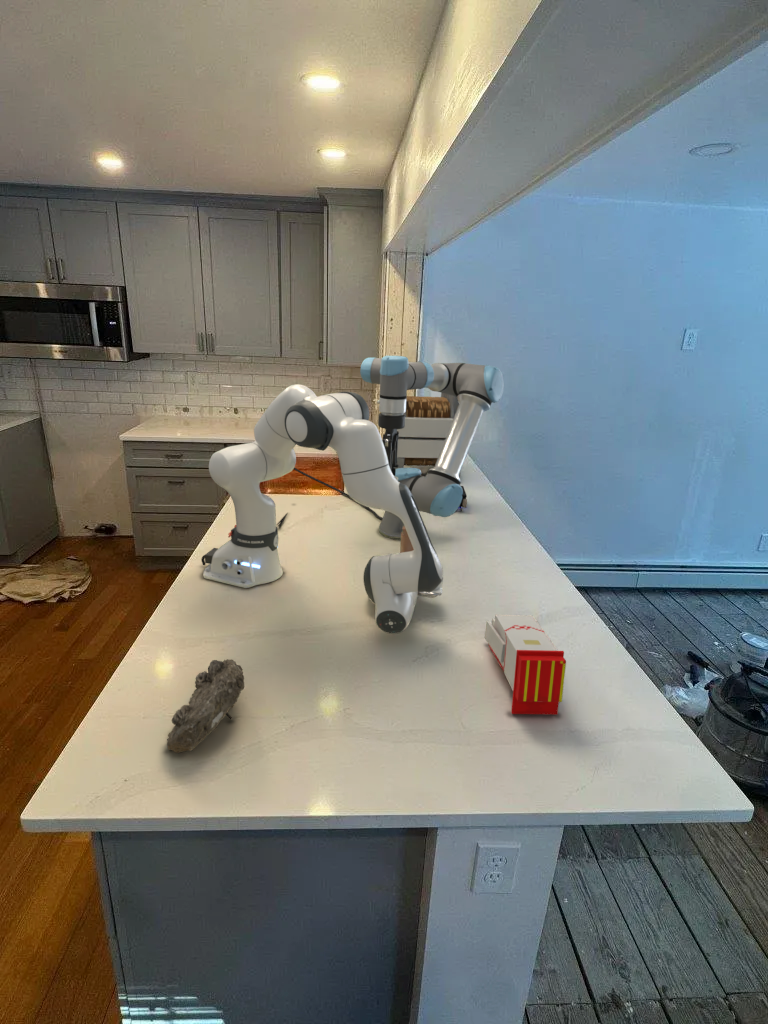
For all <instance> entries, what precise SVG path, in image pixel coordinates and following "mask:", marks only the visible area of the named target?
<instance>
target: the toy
mask: <svg viewBox="0 0 768 1024" xmlns="http://www.w3.org/2000/svg"><path fill="white" fill-rule="evenodd" d="M494 615H495V616H494V617H491V622H490V620H485V621H486V622H485V630H484V640H485V641H486V642H487V646H488V647H489V649H490V651H491V652H492V654H493V656H494V657H495V659H496V661H497V663H498V665H499V667H500V668H501V670H502V671H503V674H504V676H505V678H506V680H507V682H508V684H509V686H510V689H511V690H512V701H511V712H510V713H511V714H512V715H556V716H558V715H559V714H558V713H559V705H560V703H562V702H563V695H564V694H563V693H564V686H565V685H564V683H565V677H566V676H565V675H566V667H567V666H566V665H567V660H566V658H564V656H565V651H564V650H559V649H558V648H557V646H556V645H555V644H554V642H553V641H552V640H551V638H550V637H549V636H548V634H547V633H546V631H544V629H543V628H542V626H541V625H540V623H539V622H538V620H536V618H535V617H534V615H531V614H530V615H527V614H526V615H523V614H519V615H518V614H494Z"/></svg>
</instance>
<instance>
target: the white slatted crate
mask: <svg viewBox="0 0 768 1024" xmlns="http://www.w3.org/2000/svg"><path fill="white" fill-rule="evenodd" d="M440 393H441V392H440ZM407 394H408V393H406V412H405V413H404V415H405V427H404V428H402V429H397V431H399V438H398V451H397V464H396V465H398V468H405V466H406V467H407V466H411V467H412V466H413V467H415V466H416V467H417V466H418V467H435V464H436V462H437V459H438V457H439V454H440V452H441V449H442V446H443V444H444V441H445V439H446V436H447V434H448V431H449V429H450V426H451V424H452V421H453V419H454V416H455V413H456V411H457V408H458V406H459V401H458V399H457V397H456V396H452V395H448V394H445V393H441V394H440V396H415V395H414V396H413V395H412V396H411V395H407ZM394 468H395V467H394ZM398 468H396V469H398ZM461 472H462V470H461V471H460V474H459V479H460V480H461Z"/></svg>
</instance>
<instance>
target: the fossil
mask: <svg viewBox="0 0 768 1024" xmlns="http://www.w3.org/2000/svg"><path fill="white" fill-rule="evenodd" d="M243 670H244V669H243V667H242V665H240V664H237V662H236V661H235V660H234V659H232V658H231V659H227V658H226V659H224V660H223V661H222V660H217V659H212V660H211V661H210V663H209V665H208V666H207V671H201V672H199V673H198V674H197V675H196V676H195V680H194V684H195V685H194V687H195V689H194V690H193V693H192V694H191V697H190V698H189V700H188V704H184V705H182V706H181V707H180V709H177V710H176V711H175V713H174V715H173V716H172V718H171V723H172V724H173V727H172V730H171V731H170V732H168V734H167V738H166V741H167V742H166V745H167V749H168V750H169V751H173V752H174V753H176V754H178V753H182V752H188V751H189V752H192V751H193V750H195V748H196V747H197V746H199V744H200V743H201V742H203V741H204V740H205V739H206V738H207V737H208V736H209V735H210V734H211V733H212V732H214V730H215V729H217V727H218V726H219V724H220V722H221V721H222V720H223V719H224V718H225V716H226V717H227V719H229V720H233V717H232V715H230V714H229V710H230V709H231V708H234V706H235V704H236V703H237V702H238V699H239V697H240V695H241V693H242V691H243V690H245V689H244V688H245V675H244V671H243Z"/></svg>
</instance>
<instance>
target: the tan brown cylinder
mask: <svg viewBox="0 0 768 1024" xmlns="http://www.w3.org/2000/svg"><path fill="white" fill-rule="evenodd" d="M402 529H403V532H401V540H399V543H400V544H399V553H402V552H409V551H413V550H414V549H413V546H412V544H411V541H410V539H409V536H408V533H407V531H406V528H405V526H403V528H402Z"/></svg>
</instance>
